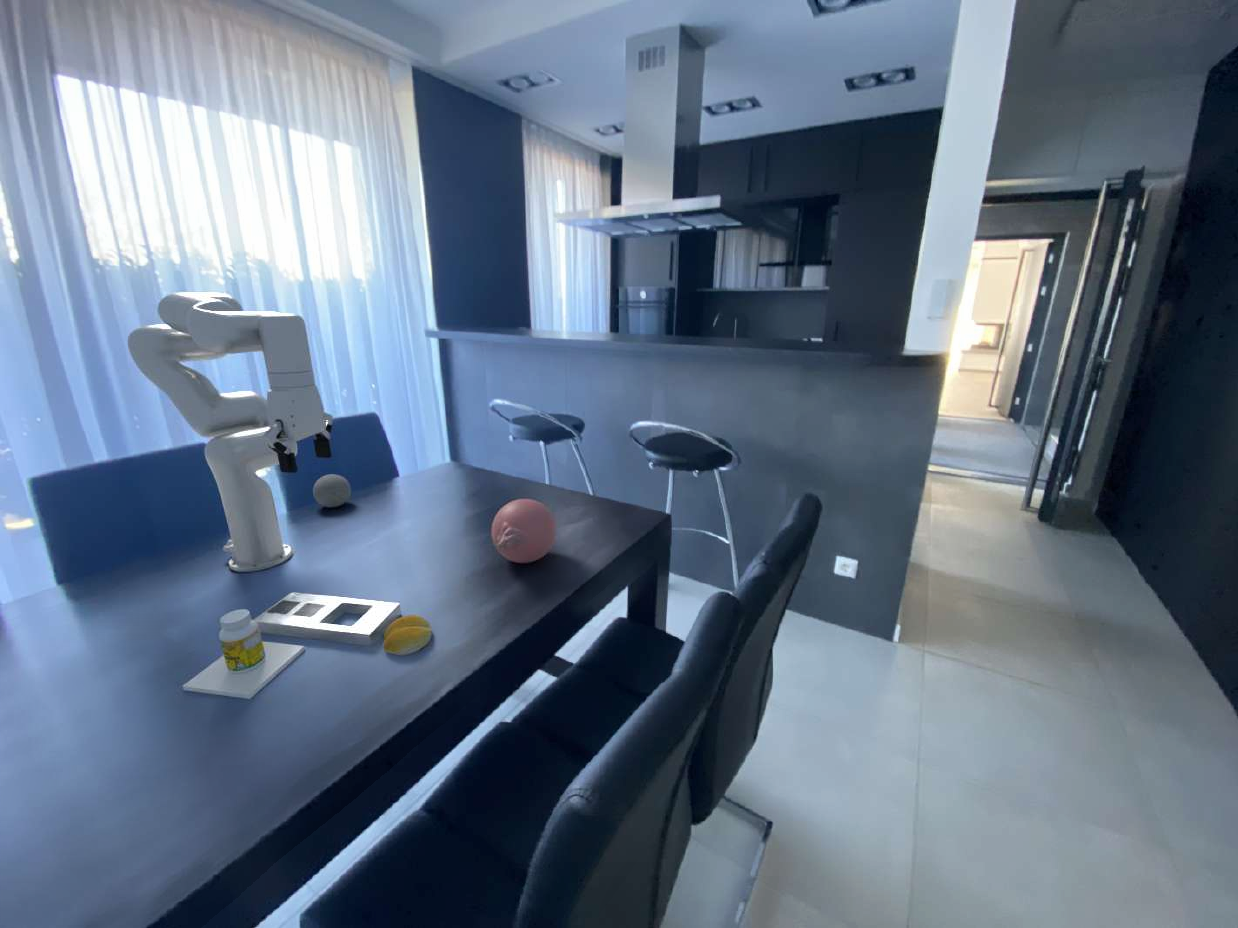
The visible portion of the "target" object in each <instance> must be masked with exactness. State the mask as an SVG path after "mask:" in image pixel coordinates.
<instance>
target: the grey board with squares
mask: <svg viewBox="0 0 1238 928" xmlns="http://www.w3.org/2000/svg"><path fill="white" fill-rule="evenodd" d="M343 614H353V615H362V617H360V619H358V620H357V621H356V622H355V623H354V624H353V625H352V626H347V625H339V624H333V623H334V622H335V621H337V620H338V619H339V618H340V617H341V616H342V615H343ZM401 615H402V609H401V603H400V602H388V601H380V600H379V601H378V600H371V599H361V598H351V597H341V596H333V595H321V594H313V593H312V594H311V593H303V592H293V591H292V592H290V593H288V594H287V595H286V596H284V597H283V598H282V599H280V600H279V601H278V602H276V603H274V605H272V606H270V607H269V608H268V609H266V610H265V611H263V612H262V613H261V614H260V615H258V616H257V617H255V618H254V619H253V620H254V621H256V622H257V623H258V626H259V630H260V634H265V635H266V634H267V635H275V636H282V637H283V636H284V637H294V638H299V639H301V638H302V639H309V640H311V639H312V640H319V641H325V642H326V641H327V642H335V643H336V642H337V643H344V644H354V645H361V646H362V645H363V646H370V647H371V646H372V645H373V644H375V642H376V641H377V640H378V639H379V638H380V637H381V636H382V635H384V633H385V630H386V629H387V627H388V626H389V625H390V624H391V623H392V622H394V621H395V620H397V619H398V618H400V616H401Z"/></svg>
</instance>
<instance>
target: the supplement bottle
mask: <svg viewBox="0 0 1238 928" xmlns="http://www.w3.org/2000/svg"><path fill="white" fill-rule="evenodd" d="M219 622H220V623H219V624H220V627H221V628H222V629H220V631H219V634H218V639H219V644H220V646H221V650H222V653H223V655H224V657H225V661H226V665H227V668H228V671H230V672H231V673H236V674H239V673H245V672H249V671H251V670H253V669H255V668H257V667H259V666H260V665H261V664H262V663H263V662H264V660H265V658H266V655H265V650H264V646H263V642H262V641H263V638H262V633H260V630H259V626H258V623H257V622H256V621H254V619H252V615H251V613H250V611H249V610H248V609H244V608H243V609H236V610H232V611H230V612H227V613H226V614H224V615H222V616H221V617H220V620H219Z"/></svg>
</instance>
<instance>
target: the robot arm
mask: <svg viewBox="0 0 1238 928" xmlns="http://www.w3.org/2000/svg"><path fill="white" fill-rule="evenodd" d="M157 313H158V314H157V315H158V316H159V319H160V320H161V321H162V322H163V323H164V324H163V323H161V324H154V325H153V324H150V325H143V326H141V327H138V328H136V329H134V330H132V331H131V332H130V333H129V335H128V336H127V347H128V351H129V353H130V356H131V358H132V360H133V362H134V364H135V365H136V366H137V368H138V369H139V371H140V372H141V373H142V374H143V375H144V376H145V377H146V378H147V380H149V381H150V382H151V383H152V384H153V385H154V386H156V387H157V388H158V389H160V390H161V391H162V392H163V393H164V394H165V395H166V396H167V397H168V398H169V399H170V400H171V402H172V404H173V405H174V407H176V409H177V410H178V412H179V413H180V414H181V416H182V417H183V418H184V420H185V421H186V422H187V424H188V425H189V426H190V427H191V429H192V430H193V431H194V432H195V433H196V434H197V435H198V436H200V437H202V438H206V439H207V438H210V440H208V442H207V443H206V444H205V446H204V456H205V461H206V463H207V465H208V466H209V468H210V470H211V472H212V475H213V477H214V479H215V482H216V485H217V488H218V491H219V494H220V498H221V499H220V500H221V503H222V506H223V507H222V508H223V510H224V515H225V518H226V522H227V525H228V530H229V534H230V539H228V540H227V541H226V545H224V546H223V547H222V551H223V552H225V553H226V552H227V553H231V558H230V559H229V560H228V566H229V568H230V570H232V571H235V572H239V573H245V572H246V573H250V572H251V573H252V572H258V571H262V570H267V569H270V568H273V567H276V566H277V565H280V564H283V563H284V562H286V561H287V560H288V559H290V557H291V556H292V555H293V550H292V546H290V545H288V544H285V543H283V538H282V534H281V533H282V532H281V528H280V524H279V519H278V515H277V509H276V505H275V501H274V500H275V499H274V496H273V491H272V488H271V486H270V484H269V483H268V482H267V481H266V480H265V479H263V478H262V477H260V476H259V475H257V472H258V471H261V470H263V469H267V468H271V467H274V466H278V465H279V469H280V470H279V471H280V472H282V473H288V474H289V473H290V474H295V473H297V472H298V471H299V470H298V465H297V460H296V456H297V454H298V444H297V442H298V441H301V440H305V439H307V438H309V437H314V438H313V446H314V452H315V457H316V458H319V459H321V458H323V459H330V458H333V457H332V456H333V455H332V449H331V444H330V439H331V438H332V437H331V432H332V429H333V426H332V425H333V419H334V416H333V415H332V414H330V413H326V412H325V409H324V405H323V404H324V403H323V400H322V398H321V394H320V391H319V389H318V386H317V384H316V380H315V373H314V370H313V363H312V357H311V351H310V344H309V339H308V334H307V329H306V328H307V327H306V322H305V320H304V319H303V316H300V314H296V313H281V312H278V311H277V312H276V311H268V310H267V311H266V310H265V311H262V310H261V311H258V310H257V311H252V310H251V311H244V309H243V307H242V305H241V303H240V302H239V301H238V300H237V299H236V298H234V297H233V296H231V295H229V294H227V293H220V292H188V291H187V292H186V291H185V292H184V291H183V292H174V293H170V294H167V295H165V296H164V297H162V298H161V300H160V301H159V302H158V305H157ZM256 352H258V353H259V352H262V353H263V359H264V363H265V369H266V374H267V378H268V384H269V389H268V390H267V392H266V393H267V394H266V398H265V397H264V396H263V395H261V394H259V393H258V392H255V391H250V390H243V391H241V390H240V391H235V392H234V391H233V392H221V391H219V390H218V389H217V388H216V387H215V386H214V384H213V382H211V380H210V379H209V378H208V377H207V376H205V375H204V374H202V373H201V372H199V371H197V370H196V369H193V368H192V367H189V366H186V365H184V364H182V363H187V362H199V361H212V360H213V361H214V360H219V359H222V358H224V357H226V356H227V355H229V354H230V355H231V354H232V355H233V354H234V355H235V354H242V353H243V354H244V353H245V354H246V353H256Z"/></svg>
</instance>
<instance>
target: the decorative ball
mask: <svg viewBox="0 0 1238 928" xmlns="http://www.w3.org/2000/svg"><path fill="white" fill-rule="evenodd" d="M312 494H313V498H314V500H315V501H316V502H317V503H318V504H319V505H321V506H323V507H326V508H338V507H340V506H342V505H344V504H345V503H346V502H348V500H349V499H350V497H351V494H352V487H351V485H350V483H349V481H348V480H347V479H346V478H345V477H344V476H342V475H340V474H336V473H335V474H332V473H331V474H326V475H324V476H321V477H320V478H318V479H317V480H316V482H315V483H314V485H313V488H312Z"/></svg>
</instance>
